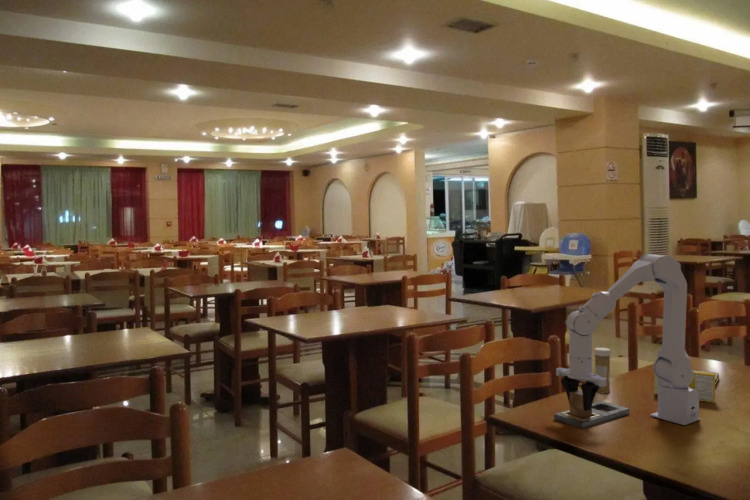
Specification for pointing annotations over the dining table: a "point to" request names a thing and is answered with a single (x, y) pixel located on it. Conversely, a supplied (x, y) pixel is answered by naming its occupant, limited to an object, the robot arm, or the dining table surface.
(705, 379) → the candy box
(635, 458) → the dining table surface
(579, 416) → the square peg block
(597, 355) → the sprinkles bottle
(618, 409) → the grey peg holder tray
